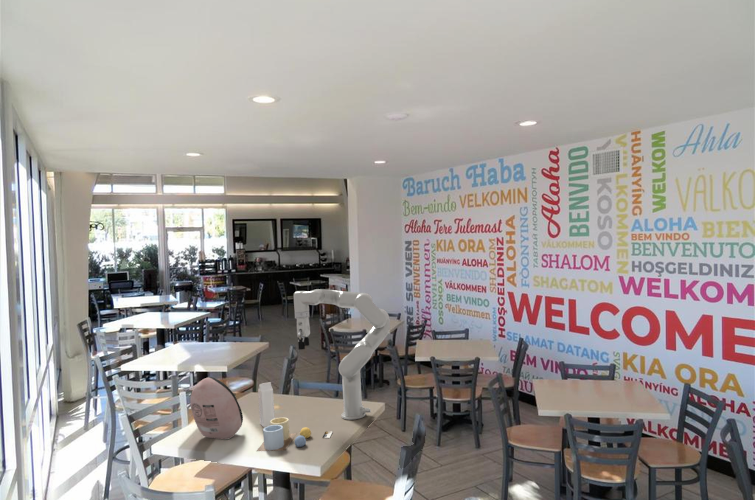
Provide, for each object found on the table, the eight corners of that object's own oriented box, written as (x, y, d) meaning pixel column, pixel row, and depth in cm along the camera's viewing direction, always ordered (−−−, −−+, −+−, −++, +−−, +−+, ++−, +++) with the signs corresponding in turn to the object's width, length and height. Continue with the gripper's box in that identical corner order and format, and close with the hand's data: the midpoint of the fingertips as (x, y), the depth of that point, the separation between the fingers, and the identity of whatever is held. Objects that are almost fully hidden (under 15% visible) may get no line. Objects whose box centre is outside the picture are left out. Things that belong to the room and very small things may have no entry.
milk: (275, 426, 255) (272, 383, 255) (263, 429, 252) (261, 385, 252) (271, 423, 260) (269, 380, 260) (259, 426, 257) (257, 382, 257)
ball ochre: (312, 436, 237) (311, 425, 237) (309, 440, 232) (309, 429, 232) (301, 436, 238) (301, 425, 238) (299, 440, 233) (298, 429, 233)
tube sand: (291, 434, 240) (290, 417, 240) (286, 440, 232) (285, 423, 232) (274, 434, 241) (273, 417, 241) (268, 441, 232) (267, 423, 232)
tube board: (332, 431, 243) (332, 429, 243) (323, 452, 219) (322, 449, 219) (272, 433, 246) (272, 431, 246) (256, 453, 222) (256, 451, 222)
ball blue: (307, 444, 228) (306, 433, 227) (304, 449, 223) (304, 437, 222) (296, 445, 228) (295, 433, 228) (293, 449, 223) (293, 438, 223)
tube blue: (285, 442, 230) (284, 424, 230) (280, 449, 222) (279, 431, 222) (267, 442, 231) (266, 425, 231) (261, 450, 222) (260, 432, 222)
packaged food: (249, 432, 249) (245, 371, 248) (222, 448, 231) (218, 382, 231) (214, 428, 258) (211, 369, 257) (185, 443, 240) (181, 379, 239)
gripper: (305, 316, 257) (307, 350, 257) (312, 312, 275) (314, 343, 275) (290, 317, 258) (292, 351, 258) (299, 313, 275) (301, 344, 275)
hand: (304, 347), depth 266 cm, fingers open, 9 cm apart
